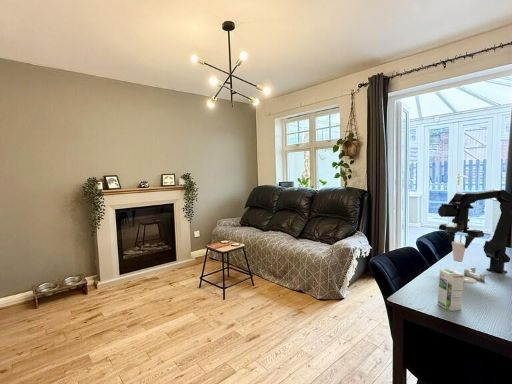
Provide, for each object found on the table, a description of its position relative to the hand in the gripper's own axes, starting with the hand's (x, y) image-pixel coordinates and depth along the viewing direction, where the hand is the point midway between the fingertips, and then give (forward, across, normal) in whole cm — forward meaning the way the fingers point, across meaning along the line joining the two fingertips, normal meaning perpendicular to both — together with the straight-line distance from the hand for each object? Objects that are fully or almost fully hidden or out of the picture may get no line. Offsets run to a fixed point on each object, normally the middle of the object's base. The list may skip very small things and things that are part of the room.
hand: (458, 246), depth 142 cm
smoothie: (+8, 0, 0) cm, 8 cm away
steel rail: (+13, +9, +1) cm, 16 cm away
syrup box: (+14, +22, -41) cm, 48 cm away
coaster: (+13, +8, -7) cm, 17 cm away
